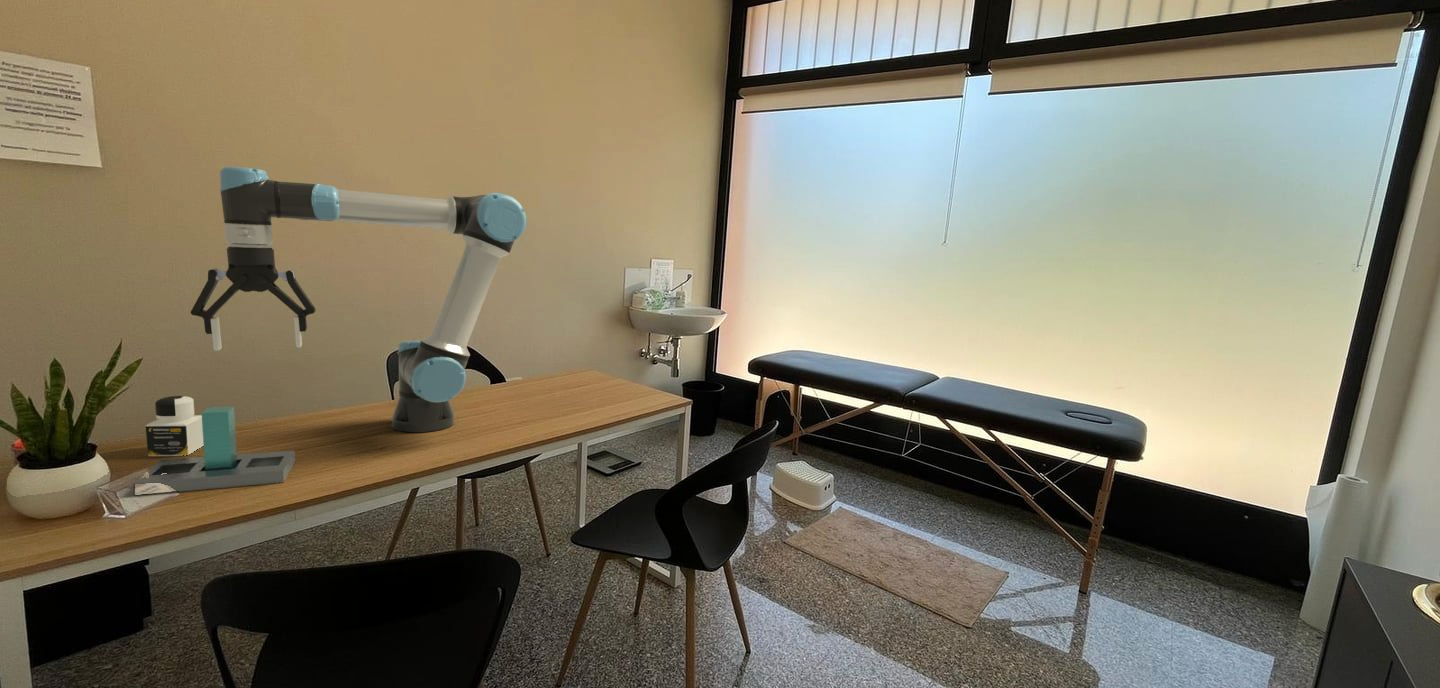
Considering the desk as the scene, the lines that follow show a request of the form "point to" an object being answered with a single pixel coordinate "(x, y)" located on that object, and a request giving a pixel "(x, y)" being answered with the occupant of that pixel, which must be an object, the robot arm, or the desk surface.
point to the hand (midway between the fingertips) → (259, 348)
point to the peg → (219, 438)
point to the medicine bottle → (174, 428)
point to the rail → (221, 472)
